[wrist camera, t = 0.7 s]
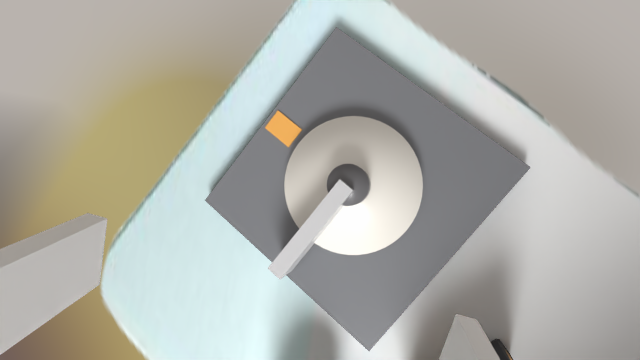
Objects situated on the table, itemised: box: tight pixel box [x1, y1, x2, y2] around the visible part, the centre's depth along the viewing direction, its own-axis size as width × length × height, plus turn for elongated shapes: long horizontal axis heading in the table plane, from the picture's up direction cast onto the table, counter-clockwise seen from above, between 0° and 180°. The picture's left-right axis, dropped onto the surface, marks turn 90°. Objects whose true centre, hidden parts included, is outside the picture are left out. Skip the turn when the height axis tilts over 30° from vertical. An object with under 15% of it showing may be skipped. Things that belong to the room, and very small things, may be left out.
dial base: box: [205, 27, 530, 351], centre depth 38 cm, size 24×24×2 cm
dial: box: [268, 116, 423, 279], centre depth 35 cm, size 18×14×4 cm
